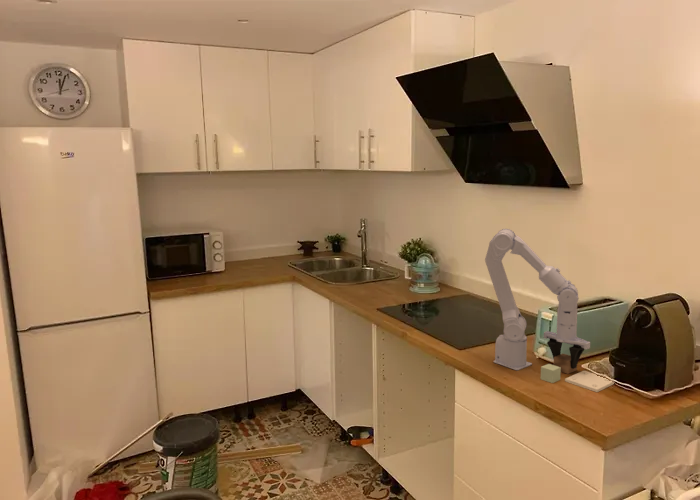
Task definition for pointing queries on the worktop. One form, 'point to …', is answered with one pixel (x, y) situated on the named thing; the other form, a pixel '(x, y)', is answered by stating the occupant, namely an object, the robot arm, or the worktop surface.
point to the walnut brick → (564, 363)
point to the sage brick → (550, 373)
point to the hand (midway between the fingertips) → (565, 365)
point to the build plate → (589, 381)
